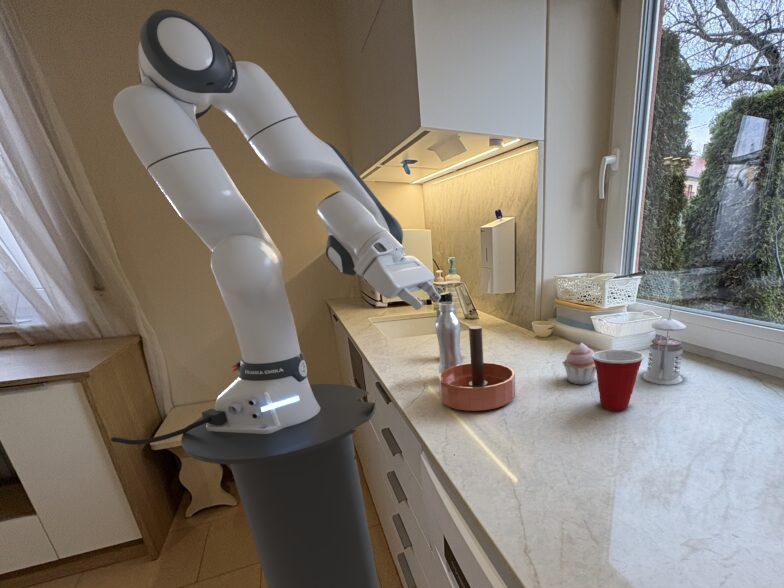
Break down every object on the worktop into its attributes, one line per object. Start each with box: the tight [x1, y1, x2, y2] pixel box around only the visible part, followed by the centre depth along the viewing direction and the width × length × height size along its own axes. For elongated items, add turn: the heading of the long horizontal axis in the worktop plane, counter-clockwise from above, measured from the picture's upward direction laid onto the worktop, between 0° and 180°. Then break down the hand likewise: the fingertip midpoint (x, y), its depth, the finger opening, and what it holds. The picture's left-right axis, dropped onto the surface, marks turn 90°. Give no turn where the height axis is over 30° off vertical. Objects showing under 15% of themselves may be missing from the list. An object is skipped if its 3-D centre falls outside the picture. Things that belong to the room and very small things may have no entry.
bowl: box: [437, 361, 516, 412], centre depth 94 cm, size 17×17×6 cm
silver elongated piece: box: [434, 301, 464, 375], centre depth 104 cm, size 6×7×20 cm
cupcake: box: [562, 342, 597, 385], centre depth 103 cm, size 9×9×10 cm
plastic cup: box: [592, 349, 645, 412], centre depth 88 cm, size 11×11×12 cm
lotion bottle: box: [436, 291, 458, 319], centre depth 120 cm, size 6×6×20 cm
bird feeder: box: [642, 278, 687, 386], centre depth 101 cm, size 10×12×25 cm
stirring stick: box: [468, 325, 488, 387], centre depth 92 cm, size 4×4×16 cm
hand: (429, 303), depth 89 cm, fingers open, 8 cm apart
